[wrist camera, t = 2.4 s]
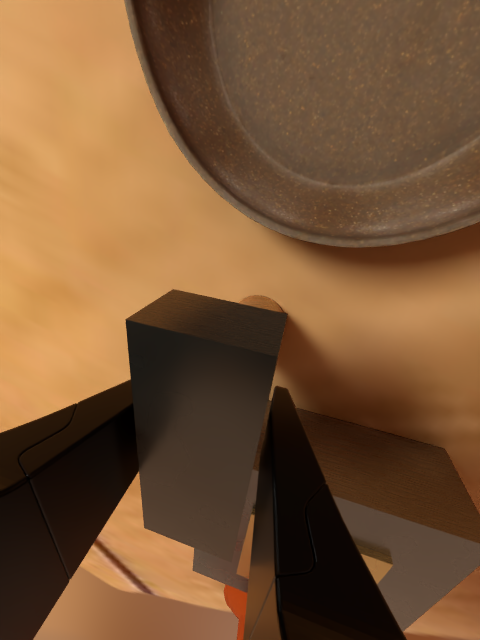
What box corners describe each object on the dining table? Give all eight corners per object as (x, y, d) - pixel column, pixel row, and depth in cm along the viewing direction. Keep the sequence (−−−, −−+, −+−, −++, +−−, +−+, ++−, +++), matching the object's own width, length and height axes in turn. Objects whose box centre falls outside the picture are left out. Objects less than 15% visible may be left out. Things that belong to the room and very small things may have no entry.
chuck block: (444, 449, 14) (503, 559, 10) (337, 599, 23) (342, 690, 18) (230, 389, 16) (199, 458, 12) (208, 548, 25) (187, 620, 21)
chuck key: (300, 256, 12) (278, 356, 4) (272, 381, 15) (231, 562, 7) (240, 246, 12) (125, 318, 5) (226, 369, 15) (144, 527, 8)
